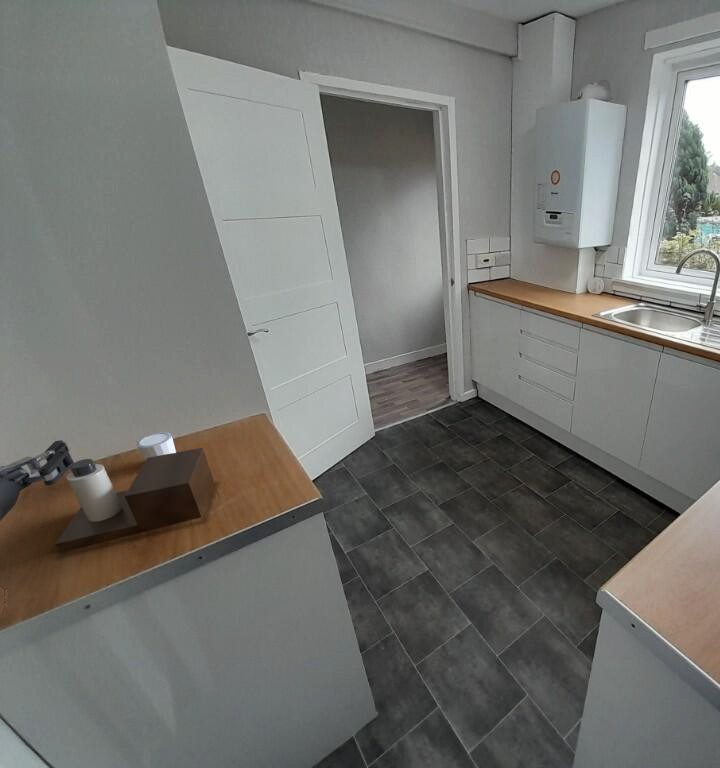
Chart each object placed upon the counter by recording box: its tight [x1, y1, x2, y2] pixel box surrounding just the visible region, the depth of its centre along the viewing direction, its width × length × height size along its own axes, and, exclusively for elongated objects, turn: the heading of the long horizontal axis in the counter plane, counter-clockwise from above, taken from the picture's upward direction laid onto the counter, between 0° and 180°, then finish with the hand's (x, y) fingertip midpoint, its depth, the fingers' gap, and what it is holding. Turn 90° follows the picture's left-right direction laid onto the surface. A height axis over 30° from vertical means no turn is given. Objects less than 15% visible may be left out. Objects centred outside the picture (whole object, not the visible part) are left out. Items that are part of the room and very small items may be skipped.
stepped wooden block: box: [54, 447, 215, 554], centre depth 84 cm, size 22×14×10 cm, turn 115°
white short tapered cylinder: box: [135, 431, 177, 461], centre depth 102 cm, size 7×7×7 cm
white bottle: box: [66, 458, 122, 522], centre depth 80 cm, size 5×5×12 cm
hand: (25, 450), depth 65 cm, fingers open, 8 cm apart
